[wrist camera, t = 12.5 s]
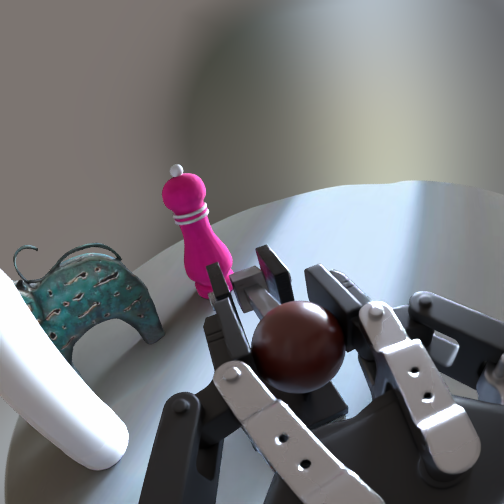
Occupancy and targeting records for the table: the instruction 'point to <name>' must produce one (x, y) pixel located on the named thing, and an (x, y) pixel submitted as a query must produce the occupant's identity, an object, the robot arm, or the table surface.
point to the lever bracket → (279, 283)
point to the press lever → (290, 336)
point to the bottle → (53, 389)
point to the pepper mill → (195, 229)
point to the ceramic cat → (87, 298)
